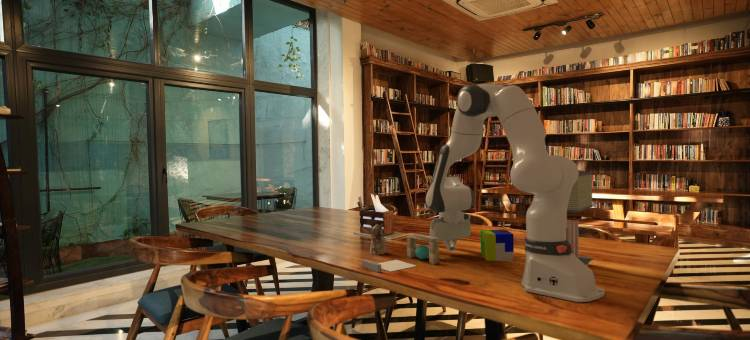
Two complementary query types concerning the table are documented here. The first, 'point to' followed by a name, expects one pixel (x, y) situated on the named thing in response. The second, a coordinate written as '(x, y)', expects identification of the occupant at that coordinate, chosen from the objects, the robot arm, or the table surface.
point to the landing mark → (395, 265)
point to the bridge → (432, 246)
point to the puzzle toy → (497, 245)
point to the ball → (422, 252)
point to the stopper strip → (371, 265)
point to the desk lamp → (579, 210)
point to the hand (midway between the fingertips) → (450, 250)
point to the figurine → (378, 240)
